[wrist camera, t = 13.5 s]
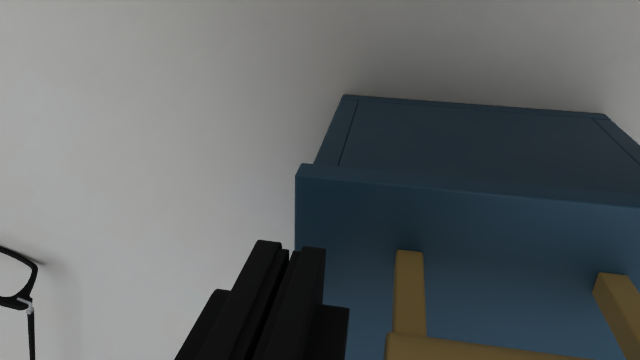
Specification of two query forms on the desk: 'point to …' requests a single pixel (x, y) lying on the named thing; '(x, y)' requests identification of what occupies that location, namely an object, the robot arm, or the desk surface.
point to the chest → (482, 143)
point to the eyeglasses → (23, 298)
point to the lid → (473, 265)
